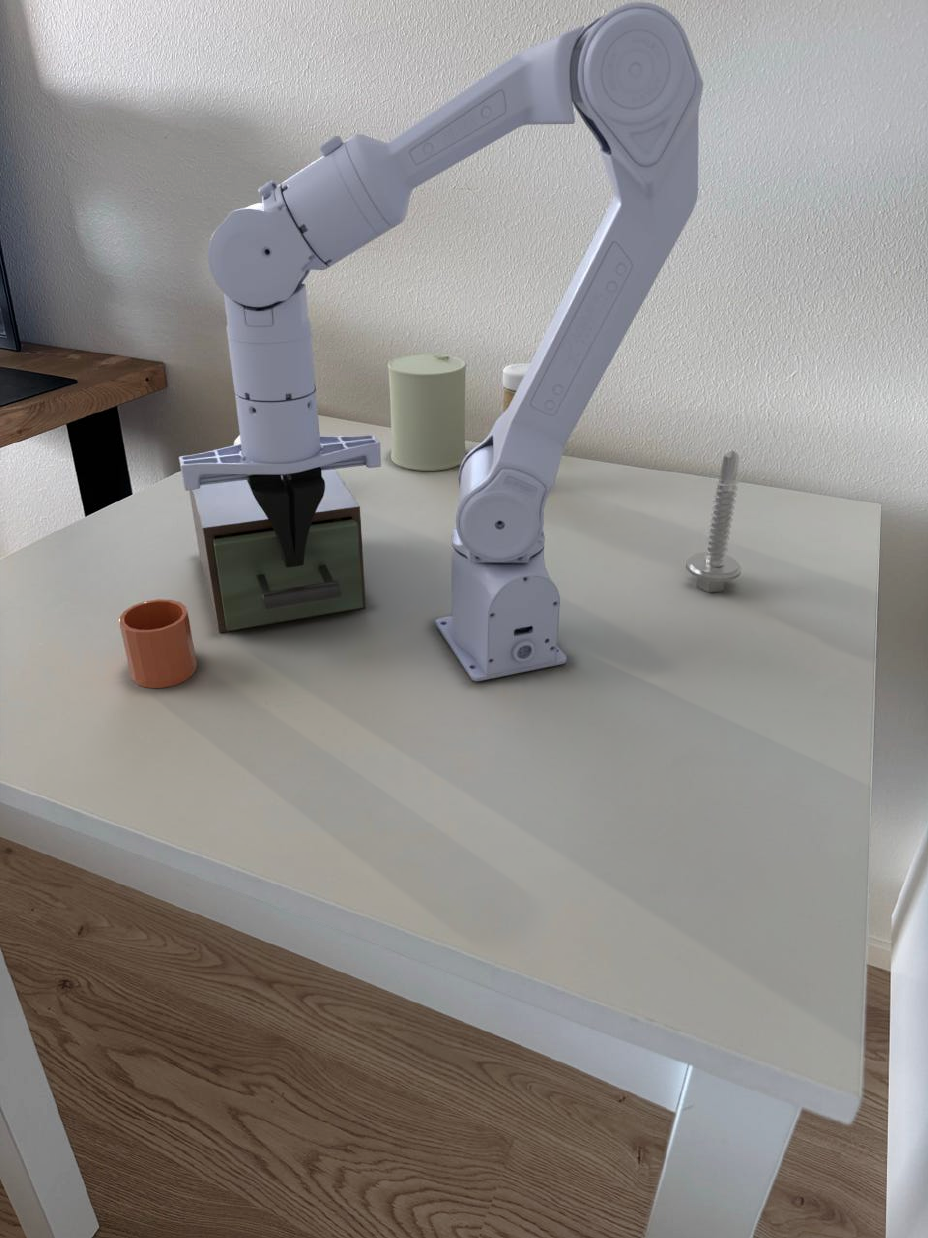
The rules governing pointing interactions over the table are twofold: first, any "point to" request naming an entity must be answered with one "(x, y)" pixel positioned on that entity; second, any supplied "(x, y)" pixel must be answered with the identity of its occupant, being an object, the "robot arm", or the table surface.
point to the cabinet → (256, 524)
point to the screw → (718, 534)
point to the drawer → (288, 575)
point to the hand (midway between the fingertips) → (292, 561)
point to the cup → (158, 643)
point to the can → (427, 411)
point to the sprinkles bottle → (512, 381)
